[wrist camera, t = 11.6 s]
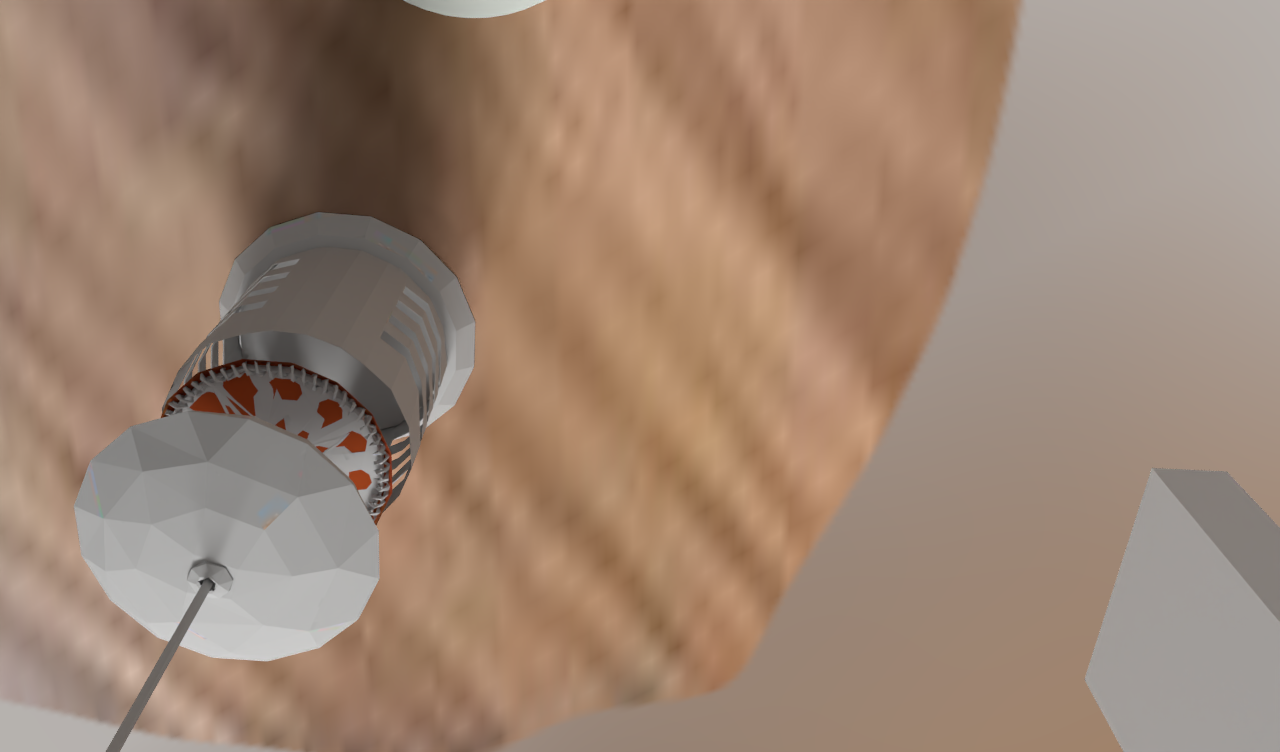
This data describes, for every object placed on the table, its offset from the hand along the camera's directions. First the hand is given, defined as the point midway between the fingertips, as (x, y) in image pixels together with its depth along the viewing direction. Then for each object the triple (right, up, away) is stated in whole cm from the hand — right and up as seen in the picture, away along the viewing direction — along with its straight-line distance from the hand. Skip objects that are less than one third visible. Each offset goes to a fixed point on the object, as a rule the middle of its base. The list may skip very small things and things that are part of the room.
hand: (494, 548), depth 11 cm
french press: (-10, +3, +31) cm, 33 cm away
